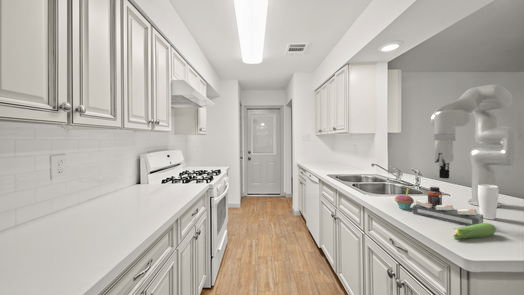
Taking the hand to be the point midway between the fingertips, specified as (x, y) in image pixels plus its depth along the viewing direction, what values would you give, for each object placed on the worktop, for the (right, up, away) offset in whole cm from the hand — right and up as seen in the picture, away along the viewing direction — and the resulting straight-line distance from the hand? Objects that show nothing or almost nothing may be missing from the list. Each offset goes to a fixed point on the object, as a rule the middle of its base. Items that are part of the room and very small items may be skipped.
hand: (444, 178), depth 103 cm
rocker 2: (0, -14, 0) cm, 14 cm away
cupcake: (-7, -19, +18) cm, 27 cm away
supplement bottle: (+9, -19, +17) cm, 27 cm away
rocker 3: (+5, -14, -6) cm, 16 cm away
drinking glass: (+21, -19, +1) cm, 28 cm away
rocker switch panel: (+2, -19, +2) cm, 19 cm away
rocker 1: (-4, -14, +7) cm, 16 cm away
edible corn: (-3, -20, -17) cm, 27 cm away
